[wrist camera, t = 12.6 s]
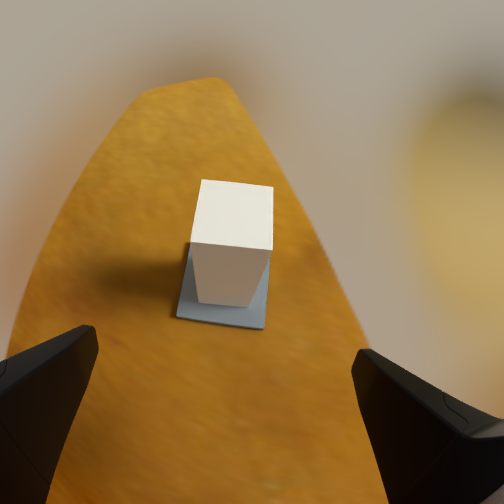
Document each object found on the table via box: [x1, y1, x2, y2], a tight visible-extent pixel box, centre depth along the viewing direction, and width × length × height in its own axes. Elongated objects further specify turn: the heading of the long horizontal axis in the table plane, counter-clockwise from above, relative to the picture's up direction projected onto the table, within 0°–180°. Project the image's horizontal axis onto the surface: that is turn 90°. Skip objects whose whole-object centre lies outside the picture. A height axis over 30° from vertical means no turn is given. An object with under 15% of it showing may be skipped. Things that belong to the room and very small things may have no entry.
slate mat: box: [176, 245, 270, 330], centre depth 24 cm, size 7×7×1 cm
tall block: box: [190, 179, 273, 308], centre depth 19 cm, size 4×4×10 cm
